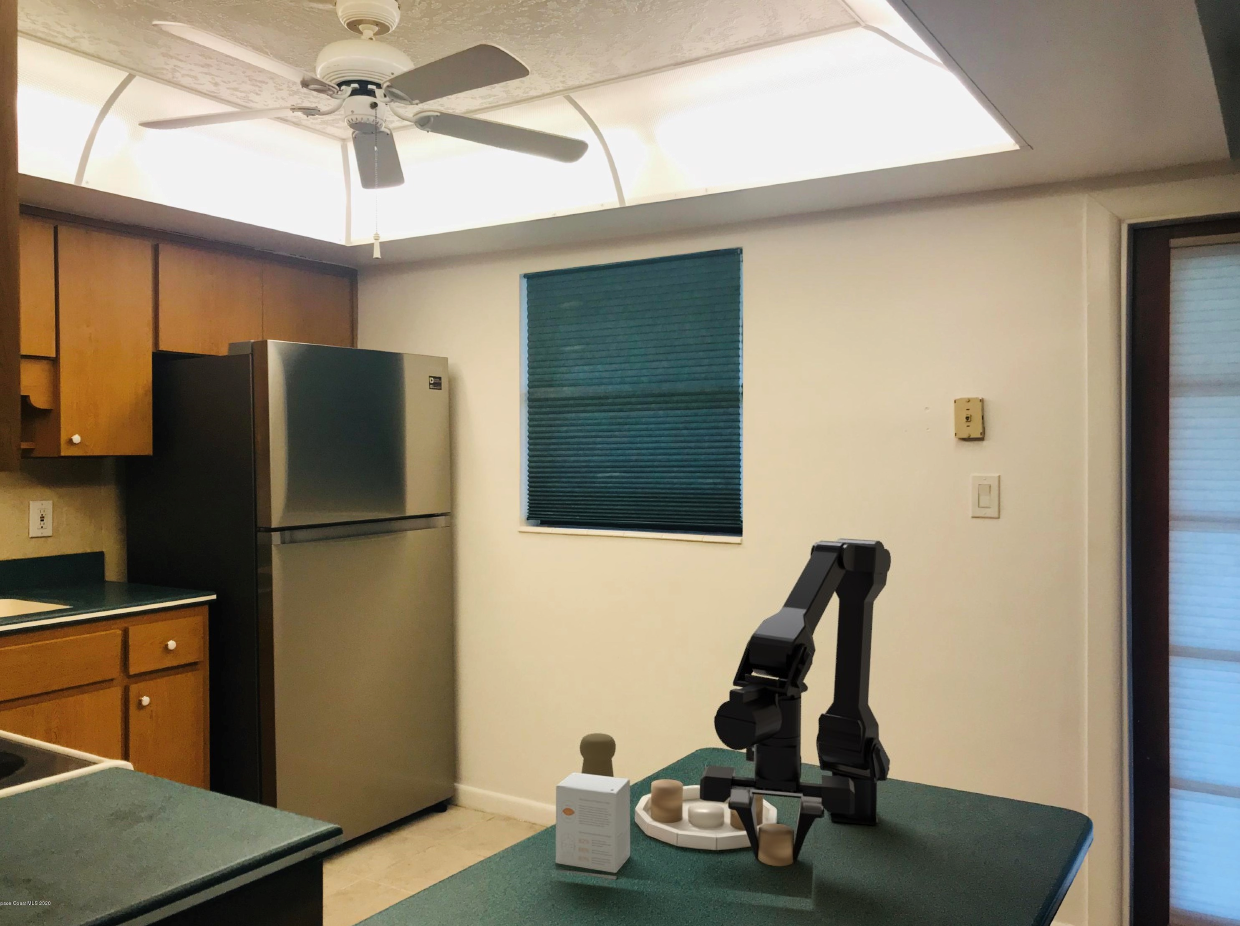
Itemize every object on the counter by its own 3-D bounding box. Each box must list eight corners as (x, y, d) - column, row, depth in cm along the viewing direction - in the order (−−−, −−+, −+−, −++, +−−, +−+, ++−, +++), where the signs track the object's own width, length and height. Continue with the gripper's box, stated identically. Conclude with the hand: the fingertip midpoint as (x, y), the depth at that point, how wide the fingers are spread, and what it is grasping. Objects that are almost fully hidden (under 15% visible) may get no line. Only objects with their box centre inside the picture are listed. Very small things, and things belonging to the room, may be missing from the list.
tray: (779, 810, 133) (779, 792, 133) (771, 863, 115) (772, 842, 115) (650, 798, 138) (651, 780, 138) (623, 847, 119) (624, 827, 119)
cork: (612, 821, 128) (614, 742, 128) (571, 817, 129) (572, 739, 129) (621, 806, 134) (622, 730, 134) (581, 802, 135) (582, 727, 135)
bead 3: (794, 860, 116) (794, 825, 116) (793, 875, 112) (793, 838, 112) (759, 857, 117) (759, 821, 117) (756, 871, 113) (757, 834, 113)
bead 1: (684, 812, 129) (685, 780, 129) (679, 824, 125) (680, 791, 125) (653, 809, 130) (654, 777, 130) (648, 821, 126) (648, 788, 126)
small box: (630, 862, 115) (632, 778, 115) (615, 881, 109) (617, 792, 109) (571, 853, 117) (572, 770, 117) (553, 870, 112) (555, 784, 112)
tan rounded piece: (761, 832, 122) (762, 798, 122) (728, 829, 123) (729, 795, 123) (763, 820, 127) (764, 787, 127) (731, 817, 128) (732, 784, 128)
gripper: (852, 721, 120) (851, 840, 120) (710, 710, 124) (709, 826, 124) (855, 745, 109) (853, 876, 109) (700, 733, 113) (698, 859, 113)
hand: (775, 857), depth 114 cm, fingers closed on bead 3, 4 cm apart
